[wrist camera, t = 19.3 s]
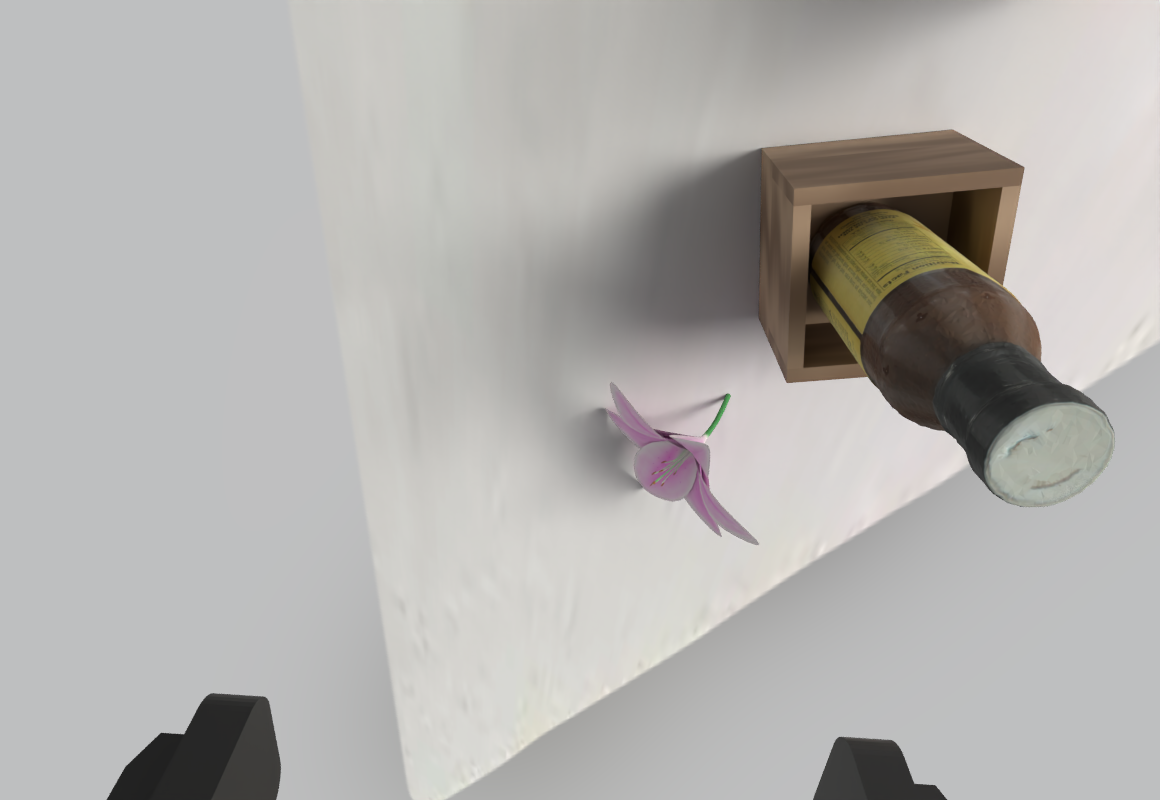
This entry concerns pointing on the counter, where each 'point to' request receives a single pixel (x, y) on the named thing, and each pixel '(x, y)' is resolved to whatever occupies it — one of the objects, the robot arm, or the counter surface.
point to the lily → (675, 465)
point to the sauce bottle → (956, 354)
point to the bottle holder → (857, 176)
